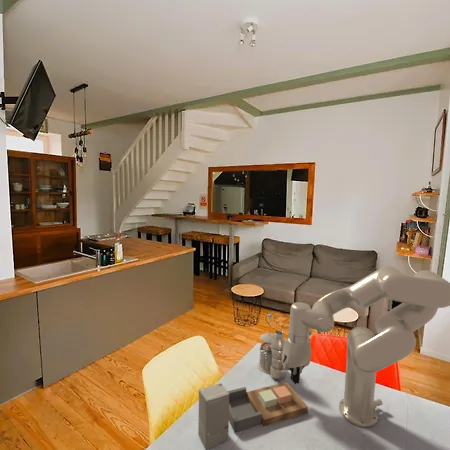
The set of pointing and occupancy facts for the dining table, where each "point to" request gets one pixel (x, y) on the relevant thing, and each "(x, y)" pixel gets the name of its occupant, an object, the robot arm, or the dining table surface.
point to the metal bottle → (277, 356)
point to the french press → (266, 347)
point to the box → (242, 411)
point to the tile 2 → (282, 394)
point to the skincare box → (213, 415)
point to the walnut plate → (277, 406)
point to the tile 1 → (267, 398)
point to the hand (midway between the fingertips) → (294, 381)
